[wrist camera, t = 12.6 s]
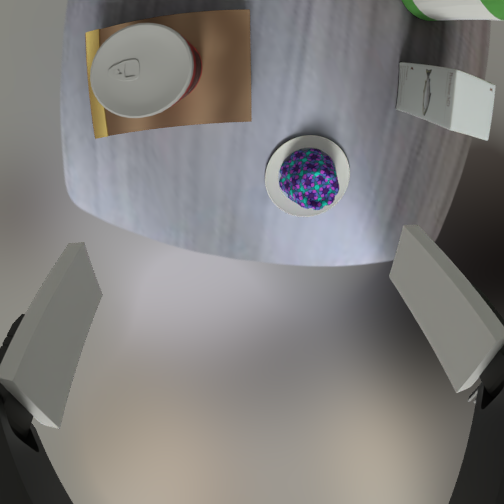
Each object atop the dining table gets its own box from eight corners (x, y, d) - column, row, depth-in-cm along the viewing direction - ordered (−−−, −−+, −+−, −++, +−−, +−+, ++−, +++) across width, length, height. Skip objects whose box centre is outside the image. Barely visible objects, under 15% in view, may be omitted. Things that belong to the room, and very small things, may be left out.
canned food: (121, 53, 25) (78, 48, 16) (193, 27, 24) (178, 6, 15) (141, 113, 29) (106, 134, 20) (211, 90, 29) (205, 99, 19)
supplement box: (397, 60, 31) (456, 66, 21) (437, 72, 32) (498, 85, 21) (393, 109, 35) (449, 131, 25) (433, 117, 36) (490, 141, 25)
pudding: (252, 150, 38) (256, 161, 34) (337, 123, 37) (352, 131, 32) (278, 225, 45) (285, 244, 40) (354, 199, 43) (368, 216, 39)
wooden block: (246, 17, 28) (250, 9, 23) (248, 115, 35) (251, 121, 31) (101, 36, 27) (84, 33, 22) (109, 129, 34) (94, 138, 29)
